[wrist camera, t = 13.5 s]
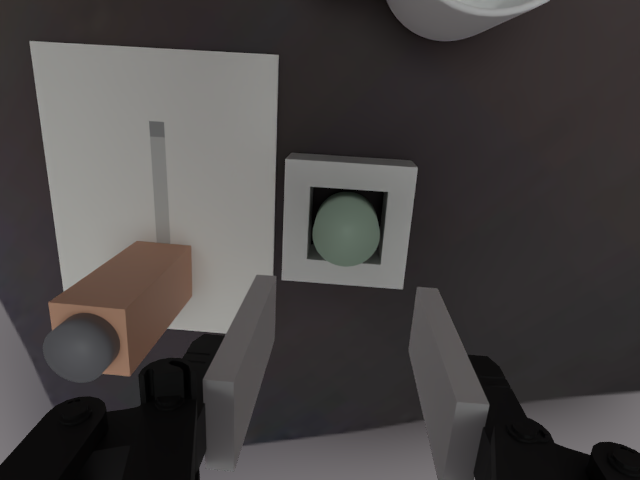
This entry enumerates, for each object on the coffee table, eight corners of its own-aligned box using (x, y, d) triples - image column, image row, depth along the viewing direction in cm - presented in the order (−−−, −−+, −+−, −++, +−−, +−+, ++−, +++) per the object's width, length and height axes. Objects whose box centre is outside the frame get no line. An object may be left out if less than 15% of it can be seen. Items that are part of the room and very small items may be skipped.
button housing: (291, 152, 30) (285, 158, 27) (411, 160, 30) (417, 167, 27) (287, 263, 33) (281, 280, 30) (398, 271, 32) (402, 289, 29)
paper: (32, 41, 29) (29, 41, 29) (278, 55, 28) (278, 55, 28) (69, 318, 35) (67, 320, 35) (272, 335, 34) (271, 337, 34)
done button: (317, 189, 29) (314, 200, 26) (379, 193, 29) (383, 204, 26) (314, 247, 30) (310, 263, 27) (373, 252, 30) (376, 268, 27)
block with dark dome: (136, 240, 32) (29, 315, 22) (191, 245, 32) (110, 323, 21) (139, 291, 34) (40, 385, 23) (192, 296, 33) (117, 392, 23)
